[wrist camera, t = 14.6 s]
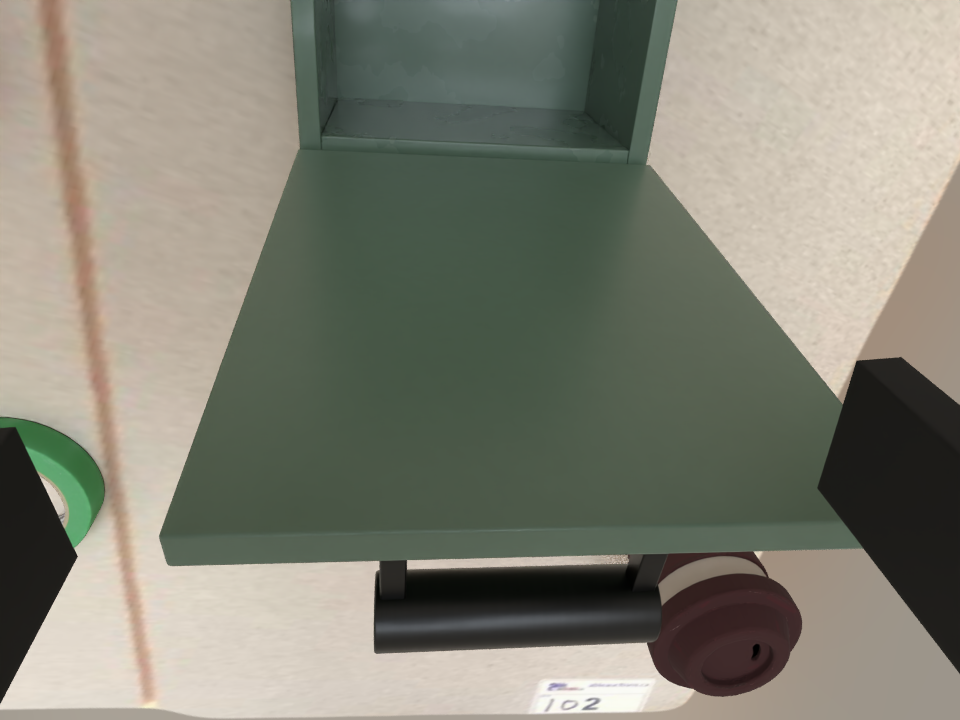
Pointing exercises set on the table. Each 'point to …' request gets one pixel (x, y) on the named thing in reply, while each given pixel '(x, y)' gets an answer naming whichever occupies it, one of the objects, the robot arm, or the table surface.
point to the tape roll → (64, 474)
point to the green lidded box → (501, 400)
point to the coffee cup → (722, 623)
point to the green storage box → (481, 77)
